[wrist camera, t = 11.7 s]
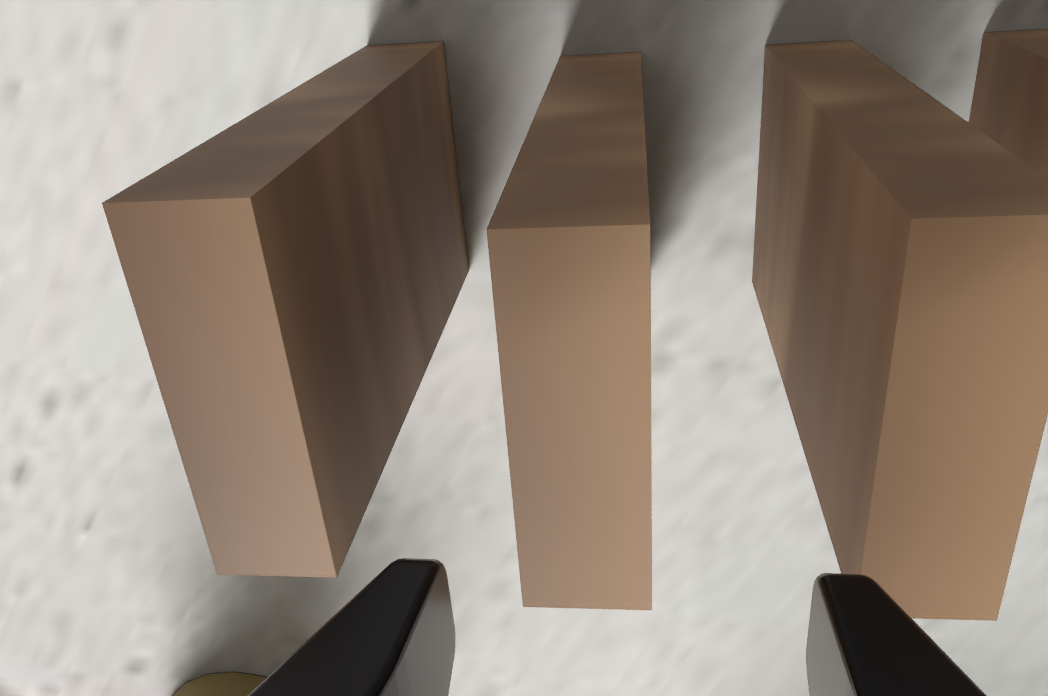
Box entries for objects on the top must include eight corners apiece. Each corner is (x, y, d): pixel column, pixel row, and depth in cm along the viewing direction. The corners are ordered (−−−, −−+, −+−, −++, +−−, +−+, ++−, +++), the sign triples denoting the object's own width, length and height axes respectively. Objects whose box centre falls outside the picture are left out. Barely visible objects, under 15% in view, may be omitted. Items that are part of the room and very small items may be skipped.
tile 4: (641, 52, 17) (650, 224, 8) (642, 283, 19) (651, 610, 11) (560, 56, 17) (487, 229, 9) (571, 285, 20) (522, 606, 11)
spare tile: (443, 40, 17) (250, 197, 9) (468, 270, 20) (337, 577, 11) (366, 45, 18) (101, 202, 9) (400, 271, 20) (217, 574, 11)
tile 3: (851, 40, 17) (1096, 213, 8) (827, 279, 19) (996, 620, 10) (765, 44, 17) (911, 218, 8) (752, 281, 19) (854, 616, 10)
